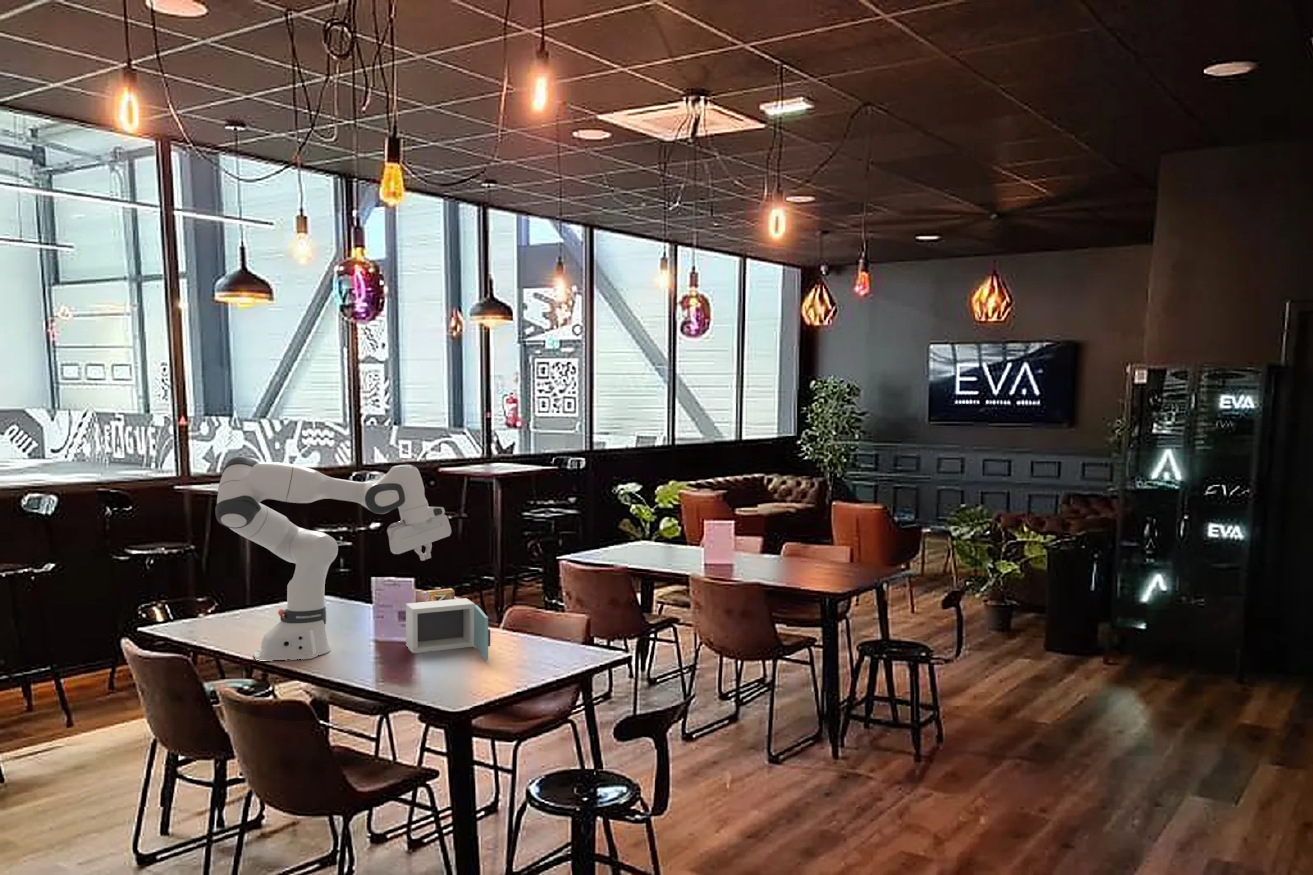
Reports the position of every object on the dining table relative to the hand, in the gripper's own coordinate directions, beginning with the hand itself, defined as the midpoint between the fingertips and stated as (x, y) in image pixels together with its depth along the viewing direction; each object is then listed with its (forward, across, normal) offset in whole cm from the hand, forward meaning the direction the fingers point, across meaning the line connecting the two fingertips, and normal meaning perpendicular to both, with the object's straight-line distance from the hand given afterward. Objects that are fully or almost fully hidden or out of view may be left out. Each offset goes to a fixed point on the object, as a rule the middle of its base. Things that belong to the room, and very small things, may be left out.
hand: (426, 559), depth 286 cm
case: (+32, +6, +14) cm, 36 cm away
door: (+34, +9, -4) cm, 35 cm away
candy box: (+33, +15, +28) cm, 46 cm away
